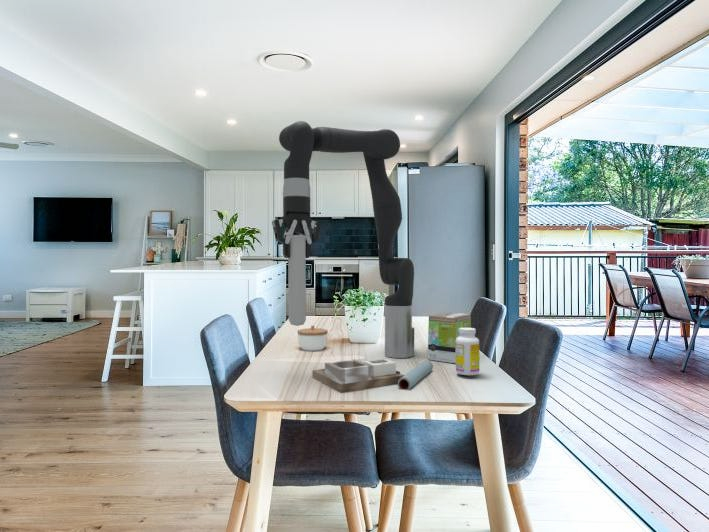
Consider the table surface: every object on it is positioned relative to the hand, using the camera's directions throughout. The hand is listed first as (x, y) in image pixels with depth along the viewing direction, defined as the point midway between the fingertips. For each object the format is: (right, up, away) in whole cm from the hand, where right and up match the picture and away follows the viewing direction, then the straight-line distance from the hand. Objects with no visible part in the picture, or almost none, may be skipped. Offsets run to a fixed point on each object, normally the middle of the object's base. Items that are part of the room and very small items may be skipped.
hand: (297, 257), depth 123 cm
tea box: (+48, -33, +26) cm, 64 cm away
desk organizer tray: (+17, -33, -3) cm, 37 cm away
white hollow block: (+23, -31, -4) cm, 39 cm away
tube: (0, -19, 0) cm, 19 cm away
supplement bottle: (+48, -33, +5) cm, 59 cm away
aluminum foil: (+31, -34, -1) cm, 46 cm away
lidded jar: (+1, -33, +37) cm, 50 cm away
